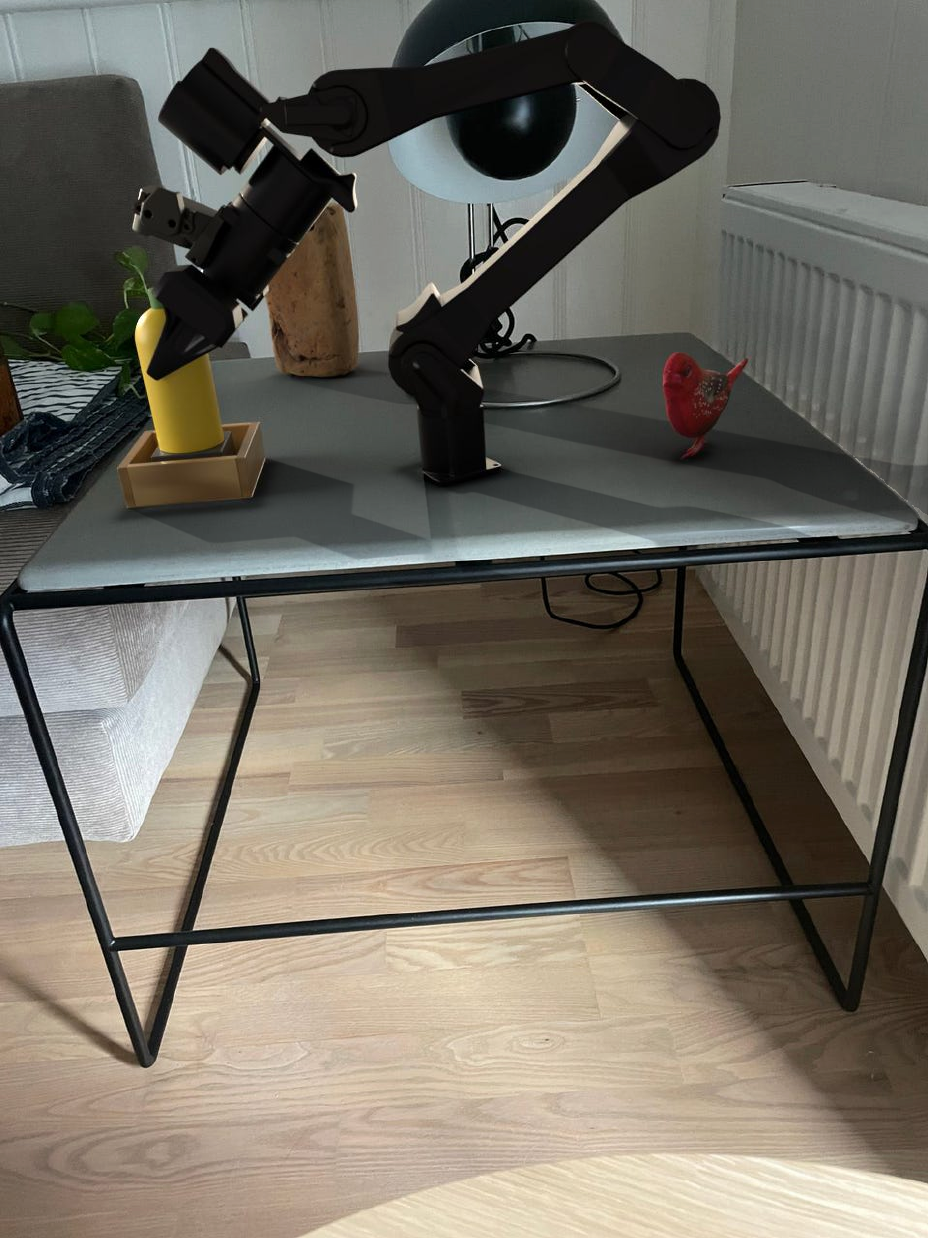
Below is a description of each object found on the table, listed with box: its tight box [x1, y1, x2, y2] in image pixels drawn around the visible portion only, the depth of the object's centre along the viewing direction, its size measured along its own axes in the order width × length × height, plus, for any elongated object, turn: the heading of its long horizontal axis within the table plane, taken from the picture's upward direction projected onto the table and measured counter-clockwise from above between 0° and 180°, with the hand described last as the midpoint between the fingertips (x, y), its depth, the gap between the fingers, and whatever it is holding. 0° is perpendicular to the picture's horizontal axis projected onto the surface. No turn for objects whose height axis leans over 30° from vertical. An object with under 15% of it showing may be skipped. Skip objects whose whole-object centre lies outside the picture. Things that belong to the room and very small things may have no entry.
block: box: [264, 202, 360, 378], centre depth 117 cm, size 11×8×20 cm
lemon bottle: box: [134, 286, 224, 453], centre depth 80 cm, size 6×6×13 cm
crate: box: [116, 421, 266, 509], centre depth 84 cm, size 11×11×4 cm
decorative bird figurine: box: [662, 351, 749, 460], centre depth 84 cm, size 3×18×10 cm, turn 143°
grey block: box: [151, 431, 236, 462], centre depth 84 cm, size 6×6×4 cm
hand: (160, 368), depth 80 cm, fingers closed on lemon bottle, 6 cm apart
